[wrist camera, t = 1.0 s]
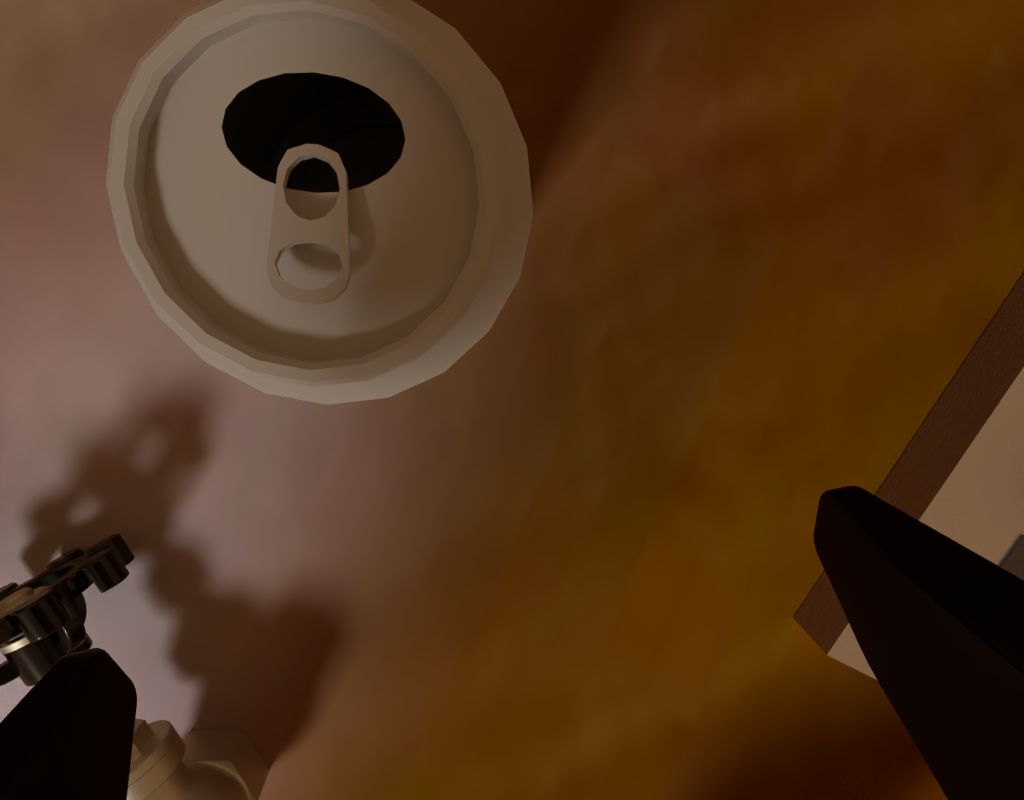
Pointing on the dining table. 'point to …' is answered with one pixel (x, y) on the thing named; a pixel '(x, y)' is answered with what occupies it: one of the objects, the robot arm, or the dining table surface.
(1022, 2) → the dining table surface
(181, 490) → the dining table surface
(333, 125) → the can
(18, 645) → the valve
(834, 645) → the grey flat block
